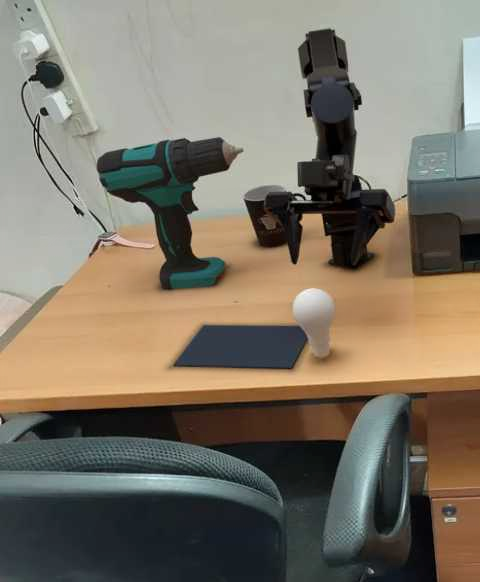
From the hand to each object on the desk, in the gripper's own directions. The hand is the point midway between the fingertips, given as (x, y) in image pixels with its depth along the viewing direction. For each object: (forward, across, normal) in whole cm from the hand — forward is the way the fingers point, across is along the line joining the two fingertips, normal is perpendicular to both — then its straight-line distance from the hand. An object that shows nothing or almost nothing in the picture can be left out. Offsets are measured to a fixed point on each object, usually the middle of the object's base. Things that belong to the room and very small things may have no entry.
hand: (323, 263), depth 97 cm
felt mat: (+12, -14, +6) cm, 19 cm away
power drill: (-5, -33, +22) cm, 40 cm away
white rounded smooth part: (+13, 0, +4) cm, 14 cm away
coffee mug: (-17, -23, +34) cm, 44 cm away
